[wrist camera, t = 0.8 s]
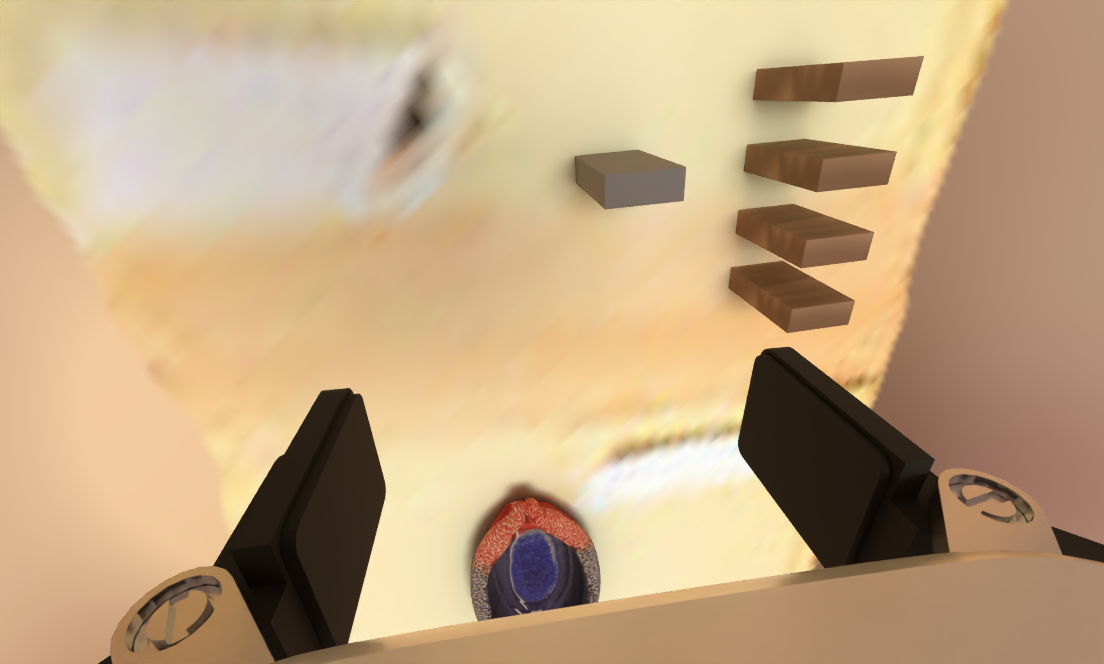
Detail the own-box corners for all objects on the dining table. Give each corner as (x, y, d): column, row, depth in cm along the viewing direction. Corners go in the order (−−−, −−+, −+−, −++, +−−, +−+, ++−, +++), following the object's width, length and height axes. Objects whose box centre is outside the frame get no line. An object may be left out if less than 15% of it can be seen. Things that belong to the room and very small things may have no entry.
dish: (481, 639, 63) (481, 680, 59) (460, 482, 48) (458, 521, 44) (589, 622, 65) (597, 660, 61) (599, 467, 50) (611, 502, 46)
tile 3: (747, 144, 36) (823, 159, 28) (805, 138, 36) (896, 151, 28) (743, 170, 37) (816, 192, 29) (800, 164, 37) (887, 184, 29)
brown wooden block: (731, 267, 41) (792, 309, 33) (782, 261, 41) (854, 300, 33) (728, 287, 42) (787, 333, 34) (778, 281, 42) (848, 324, 34)
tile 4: (738, 210, 38) (806, 240, 30) (793, 203, 39) (874, 232, 31) (735, 233, 39) (800, 268, 31) (789, 226, 40) (866, 259, 32)
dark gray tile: (575, 155, 34) (604, 175, 26) (638, 149, 35) (685, 166, 27) (576, 183, 35) (605, 209, 27) (637, 176, 36) (683, 200, 28)
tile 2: (756, 69, 33) (844, 62, 25) (819, 64, 34) (924, 55, 26) (752, 99, 34) (835, 102, 26) (813, 94, 35) (912, 95, 27)
